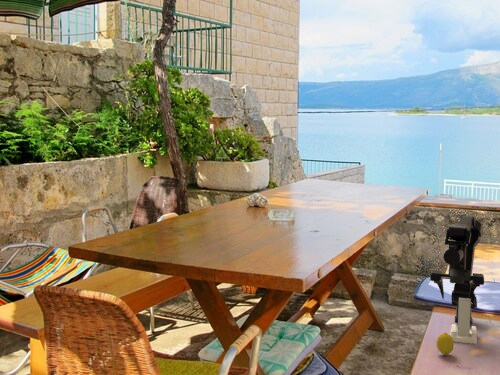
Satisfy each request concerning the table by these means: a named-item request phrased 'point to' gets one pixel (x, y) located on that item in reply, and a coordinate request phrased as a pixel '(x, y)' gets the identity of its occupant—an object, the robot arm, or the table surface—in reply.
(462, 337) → the rack
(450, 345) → the lemon
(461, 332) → the clay bar
